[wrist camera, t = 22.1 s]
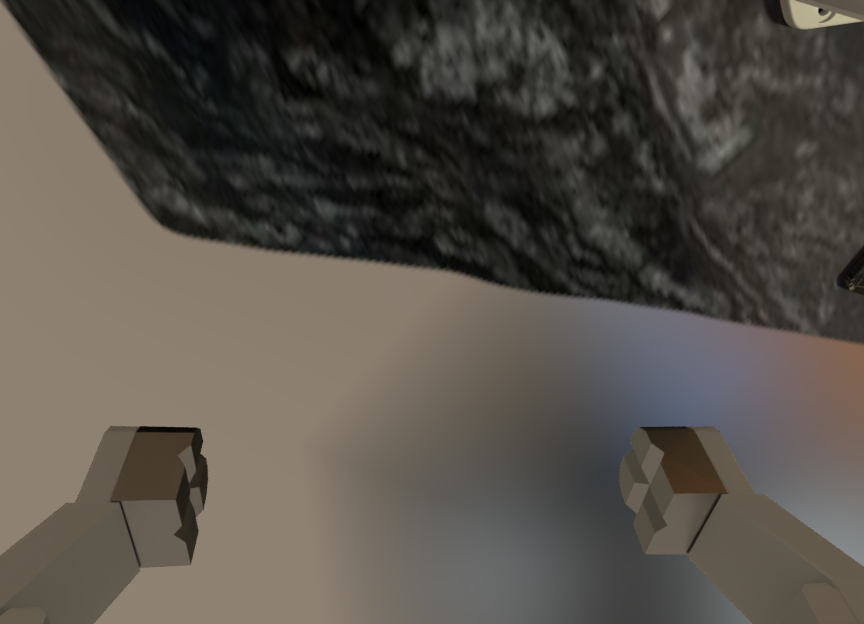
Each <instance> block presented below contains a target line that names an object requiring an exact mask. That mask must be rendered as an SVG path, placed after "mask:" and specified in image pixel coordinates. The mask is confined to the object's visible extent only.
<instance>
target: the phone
mask: <svg viewBox="0 0 864 624" xmlns="http://www.w3.org/2000/svg"><path fill="white" fill-rule="evenodd" d="M844 284H845V286H846V287H848V288H849V289H850V290H851V291H853V292H856V293H859V294H862V295H864V255H863V256H862V257H861V258H860V259H859V261H858V262H857V263H856V264H855V265H854V267H853V268H852V269H851V270H850V271H849V273H848V274H847V275H846V277H845V279H844Z"/></svg>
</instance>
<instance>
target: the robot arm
mask: <svg viewBox="0 0 864 624" xmlns="http://www.w3.org/2000/svg"><path fill="white" fill-rule="evenodd" d="M780 4H781V9H782V13H783V17H784V19H785V21H786V23H787V24H788V25H789V26H791V27H794V28H798V29H812V28H819V27H826V26H833V25H840V24H847V23H855V22H862V21H864V0H780ZM819 8H821V9H823V10H822V11H821V12H820V13H818V10H819ZM630 441H631V443H632V446H633V450H631V451H630V452H629V453H628V454H626V455H625V456H624V458H623V460H622V464H621V466H620V487H621V492H622V495H623V498H624V500H625V503H626V504H627V505H628V506H629V507H630V508H631V509H632V510H634V511H635V512H636V513H637V516H636V518H635V520H634V523H633V524H634V527H635V530H636V532H637V535H638V537H639V540H640V543H641V545H642V548H643V550H644V553H645V554H688V558H689V559H690V560H691V561H692V562H693V563H694V564H695V565H696V566H697V567H698V568H699V569H700V570H701V571H702V572H703V573H704V574H705V575H706V576H707V577H708V578H709V579H710V580H711V581H712V583H714V585H716V586H717V588H718V589H719V590H720V591H721V592H722V593H723V594H724V595H725V596H726V597H727V598H728V599H729V600H730V601H731V602H732V603H733V604H734V605H735V606H736V607H737V608H738V609H739V610H740V611H741V612H742V613H743V614H744V615H745V616H746V617H747V618H748V619H749V620H750V621H751V622H752V624H864V567H863V566H862V565H861V564H859V563H858V562H856V561H855V560H854V559H852V558H851V557H849V556H848V555H847V554H845V553H844V552H843V551H841V550H840V549H838V548H837V547H836V546H834V545H833V544H832V543H830V542H829V541H827V540H826V539H825V538H823V537H822V536H820V535H819V534H818V533H816V532H815V531H814V530H812V529H811V528H809V527H808V526H806V525H805V524H804V523H802V522H801V521H800V520H798V519H797V518H796V517H794V516H793V515H791V514H790V513H788V512H787V511H786V510H785V509H783V508H782V507H780V506H779V505H777V504H776V503H775V502H773V501H772V500H771V499H769V498H768V497H766V496H765V495H764V494H756V493H755V492H754V490H753V488H752V486H751V485H750V483H749V481H748V480H747V478H746V476H745V475H744V473H743V471H742V469H741V468H740V466H739V464H738V462H737V461H736V459H735V457H734V455H733V454H732V452H731V450H730V449H729V447H728V445H727V443H726V442H725V440H724V438H723V437H722V435H721V433H720V432H719V430H717V429H716V428H715V427H638V428H637V429H636V430H635V431H634V433H633V435H632V437H631V440H630ZM202 444H203V438H202V434H201V429H199V428H188V427H147V426H140V427H129V426H128V427H126V426H124V427H123V426H110V428H109V429H108V430H107V431H106V432H105V433H104V435H103V437H102V440H101V442H100V444H99V447H98V449H97V452H96V454H95V456H94V459H93V461H92V464H91V466H90V468H89V471H88V473H87V476H86V478H85V481H84V483H83V485H82V488H81V490H80V492H79V495H78V497H77V500H76V502H75V503H66V504H64V505H63V506H62V507H61V508H59V509H58V510H57V511H56V512H54V513H53V514H52V515H51V516H49V517H48V518H47V519H46V520H44V521H43V522H42V523H40V524H39V525H38V526H37V527H35V528H34V529H33V530H32V531H30V533H28V534H27V535H25V536H24V537H23V538H22V539H20V540H19V541H18V542H17V543H15V544H14V545H13V546H12V547H10V548H9V549H8V550H7V551H5V552H4V553H3V554H2V555H0V624H93V623H95V622H96V620H97V619H98V618H99V617H100V616H101V615H102V613H103V612H104V611H105V610H106V609H107V608H108V607H109V605H110V604H111V603H112V602H113V601H114V600H115V599H116V598H117V596H118V595H119V594H120V593H121V592H122V591H123V590H124V588H125V587H126V586H127V585H128V584H129V583H130V582H131V580H132V579H133V578H134V577H135V576H136V575H137V574H138V573H139V571H140V569H139V568H144V567H164V566H182V565H191V562H192V558H193V553H194V549H195V545H196V540H197V536H198V526H197V521H196V517H197V516H198V515H199V514H200V513H201V512H202V511H203V510H204V505H205V500H206V494H207V484H208V469H207V468H208V467H207V461H206V458H205V457H204V456H203V455H201V454H200V453H201V448H202Z"/></svg>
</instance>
